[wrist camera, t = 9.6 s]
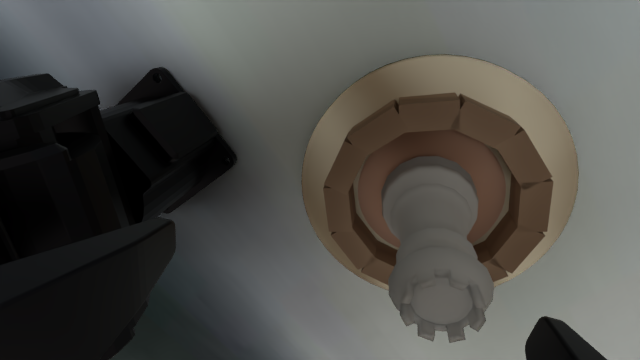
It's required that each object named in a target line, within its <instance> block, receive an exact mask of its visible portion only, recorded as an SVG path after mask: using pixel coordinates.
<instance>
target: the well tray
mask: <svg viewBox="0 0 640 360" xmlns="http://www.w3.org/2000/svg"><path fill="white" fill-rule="evenodd" d="M421 156H439V157H442V158H445V159H448V160H451V161H454V162H456V163H458V164H459V165H460V166H461V167H462V168H463V169H464V170H465V171H467V172H468V173H469V174H470V176H471V178H472V180H473V183H474V185H475V187H476V190H477V197H478V199H479V201H478V216H477V220H476V222H475V223H474V225H473V227H472V229H471V230H470V232H469V234H468V235H467V240H468V241H469V242H470V243H471V244H472V245H473V248H474V250H475V252H476V254H477V256H478V258H477V260H478V261H479V262H480V263H482V264H483V265H484V266H485V267H486V268H487V269H488V272H489V274H490V276H491V278H492V281H493V283H494V287H496V286H498V285H500V284H502V283H504V282H507V281H509V280H511V279H512V278H514V277H516V276H517V275H519V274H521V273H522V272H524V271H525V270H526V269H528V268H529V267H530V266H532V265H533V264H534V263H536V262H537V261H538V260H539V259H540V258H541V257H542V256H543V255H544V254H545V253H546V252H547V251H548V250H549V249H550V247H551V246H552V245H553V244H554V242H555V241H556V240H557V239H558V237H559V236H560V234H561V232H562V231H563V229H564V227H565V225H566V224H567V222H568V219H569V217H570V214H571V212H572V209H573V207H574V203H575V199H576V194H577V190H578V176H579V171H578V161H577V154H576V150H575V146H574V142H573V139H572V136H571V134H570V132H569V130H568V128H567V126H566V123H565V121H564V120H563V118H562V117H561V115H560V114H559V113H558V111H557V110H556V108H555V107H554V105H553V104H552V103H551V102H550V101H549V100H548V99H547V98H546V97H545V96H544V95H543V94H542V93H541V92H540V91H539V90H537V89H536V88H535V87H534V86H532V85H531V84H530V83H528V82H527V81H526V80H524V79H522V78H521V77H519V76H517V75H515V74H513V73H511V72H510V71H508V70H506V69H504V68H502V67H500V66H497V65H495V64H492V63H489V62H487V61H484V60H480V59H475V58H471V57H466V56H458V55H447V54H441V55H424V56H418V57H412V58H407V59H403V60H400V61H397V62H394V63H391V64H387V65H385V66H383V67H381V68H379V69H377V70H375V71H372V72H370V73H369V74H367V75H366V76H364V77H362V78H361V79H359V80H358V81H356V82H355V83H354V84H352V85H351V86H350V87H349V88H348V89H346V90H345V91H344V92H343V93H342V94H341V95H340V96H339V97H338V98H337V99H336V100H335V101H334V103H333V104H332V105H331V106H330V107H329V108H328V109H327V111H326V112H325V114H324V115H323V117H322V118H321V119H320V121H319V122H318V124H317V126H316V128H315V130H314V132H313V134H312V136H311V138H310V140H309V143H308V146H307V149H306V152H305V156H304V162H303V167H302V192H303V200H304V204H305V208H306V212H307V215H308V217H309V220H310V222H311V225H312V227H313V229H314V230H315V232H316V234H317V236H318V238H319V239H320V240H321V242H322V243H323V245H324V246H325V247H326V249H327V250H328V251H329V252H330V253H331V254H332V255H333V256H334V258H335V259H336V260H338V261H339V262H340V263H341V264H342V265H343V266H344V267H346V268H347V269H348V270H350V271H351V272H353V273H354V274H356V275H357V276H358V277H360V278H362V279H364V280H366V281H368V282H369V283H371V284H374V285H376V286H379V287H381V288H383V289H386V290H389V284H388V279H389V277H390V275H391V273H392V271H393V269H394V267H395V265H396V253H397V251H398V249H399V247H400V245H401V243H400V240H399V239H398V238H397V237H396V236H395V235H394V234H392V233H391V231H390V229H389V227H388V225H387V223H386V221H385V219H384V217H383V215H382V197H381V191H382V188H383V186H384V183H385V181H386V179H387V176H388V175H389V174H390V173H391V172H392V171H393V170H394V169H396V168H397V167H398V166H399V165H400V164H401V163H404V162H406V161H409V160H411V159H413V158H416V157H421Z"/></svg>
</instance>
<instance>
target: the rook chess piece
mask: <svg viewBox="0 0 640 360" xmlns="http://www.w3.org/2000/svg"><path fill="white" fill-rule="evenodd" d="M381 197H382V215H383V217H384V219H385V221H386V223H387V225H388V227H389V229H390V231H391V233H392V234H394V235H395V236H396V237H397V238H398V239H399V240H400V243H401V245H400V247H399V249H398V251H397V253H396V265H395V267H394V269H393V271H392V273H391V275H390V277H389V279H388V284H389V296H390V298H391V299H392V301H393V303H394V305H395V307H396V308H397V309H398V310H399V311H400V316H401V318H402V319H403V321H404V323H405V325H406V326H409V325H411V324H413V323H416V324H417V325H418V336H420V337H423V338H425V339H428V340H431V341H433V340H434V336H435V330H436V331H447V333H448V338H449V343H451V342H456V341H460V340H465V335H464V329H463V328H464V327H466V326H467V325H470V327H471V328H473V329H474V330H476V331H479V330H480V329H481V327H482V326H483V324H484V323H485V321H486V318H485V315H484V312H485V311H486V309H487V308H488V306H489V305H490V303H491V302H492V300H493V290H494V283H493V281H492V278H491V276H490V274H489V272H488V269H487V268H486V267H485V266H484V265H483V264H482V263H480V262H479V261H478V260H477V258H478V256H477V254H476V252H475V250H474V248H473V245H472V244H471V243H470V242H469V241H468V240H467V235H468V234H469V232H470V230H471V229H472V227H473V225H474V223H475V222H476V220H477V216H478V201H479V199H478V197H477V190H476V187H475V185H474V183H473V180H472V178H471V176H470V174H469V173H468V172H467V171H465V170H464V169H463V168H462V167H461V166H460V165H459V164H458V163H456V162H454V161H451V160H448V159H445V158H442V157H439V156H421V157H416V158H413V159H411V160H409V161H406V162H404V163H401V164H400V165H399V166H398V167H397V168H396V169H394V170H393V171H392V172H391V173H390V174H389V175H388V176H387V179H386V181H385V183H384V186H383V188H382V191H381Z"/></svg>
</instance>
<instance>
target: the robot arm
mask: <svg viewBox="0 0 640 360" xmlns="http://www.w3.org/2000/svg"><path fill="white" fill-rule="evenodd" d="M158 74H159V75H160V76H161V78H162V81H160V80H159V79H158V77H157V75H158ZM99 104H100V101H99V98H98V94H97V91H96V90H85V91H79V90H78V88H67V86H63V85H62V84H60V83H59V82H58V81H57V80H56V79H54V78H53V77H52V76H51V75H50V74H35V75H28V76H22V77H16V78H10V79H3V80H0V360H109V359H111V358H112V357H114V356H115V355H116V354H117V353H118V352H119V351H120V350H121V349H122V348H123V347H124V346H126V345H127V344H128V343H129V342H130V341H131V339H132V338H133V337H134V335H135V330H134V326H135V325H136V324H137V322H138V321H139V319H140V317H141V316H142V314H143V313H144V311H145V309H146V308H147V306H148V302H149V297H150V292H151V291H152V289H153V287H154V286H155V284H156V283H157V281H158V279H159V278H160V276H161V275H162V273H163V271H164V270H165V268H166V267H167V265H168V264H169V262H170V260H171V259H172V257H173V255H174V253H175V249H176V235H175V223H174V222H173V221H172V220H168V219H164V218H160V217H157V216H158V215H160V214H161V213H162V212H164V213H171V212H172V211H173V210H175V209H176V208H177V207H179V206H180V205H181V204H183V203H184V202H186V201H187V200H188V199H190V198H191V197H192V196H194V195H195V194H196V193H198V192H199V191H200V190H202V189H203V188H205V187H206V186H207V185H209V184H210V183H211V182H213V181H214V180H215V179H217V178H218V177H219V176H221V175H222V174H224V173H225V172H226V171H228V170H229V169H230V168H232V167H233V166H234V165H235V164H236V161H237V158H236V155H235V154H234V152H233V151H232V150H231V149H230V148H229V146H228V145H227V144H226V143H225V141H224V140H223V139H222V138H221V136H220V135H219V134H218V133H217V130H216V128H215V127H214V125H213V124H212V123H211V122H210V120H209V119H208V118H207V117H206V116H205V114H204V113H203V112H202V111H201V109H200V108H199V107H198V106H197V104H196V103H195V102H194V101H193V100H192V98H191V97H190V96H189V95H188V94H187V93H185V92H184V91H183V90H182V89H181V87H180V86H179V85H178V84H177V82H176V81H175V80H174V79H173V78H172V76H171V75H170V74H169V73H168V71H167V70H165V69H164V68H161V67H159V68H153V69H152V70H150V71H149V72H148V73H147V74H146V75H145V76H144V77H143V79H142V80H141V81H140V82H139V83H138V84H137V85H136V86H135V87H134V88H133V89H132V90H131V91H130V92H129V93H128V94H127V95H126V96H125V97H124V98H123V99H122V100H121V101H120V102H119V103H118V104H117V105H116V106H114V107H111V108H107V109H104V110H101V111H100V110H99V107H98V105H99ZM224 156H225V157H227V158H229V160H230V163H229V162H226V161H225V159H224ZM156 217H157V218H156ZM525 353H526V360H607V359H606V358H605V357H604V356H602V355H601V354H600V353H599V352H598V351H597V350H596V349H594V348H593V347H592V346H591V345H590V344H589V343H588V342H586V341H585V340H584V339H583V338H582V337H581V336H580V335H578V334H577V333H576V332H575V331H574V330H573V329H571V328H570V327H569V326H568V325H567V324H566V323H565V322H563V321H561V320H558V319H554V318H550V317H546V316H544V317H541V318H540V319H539V320H538V321H537V323H536V325H535V327H534V329H533V330H532V332H531V334H530V336H529V337H528V339H527V341H526V345H525Z"/></svg>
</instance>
